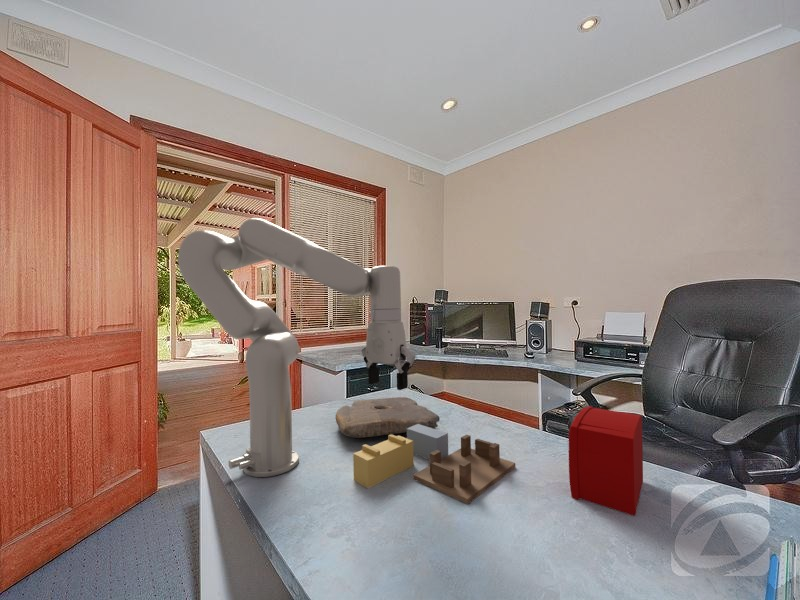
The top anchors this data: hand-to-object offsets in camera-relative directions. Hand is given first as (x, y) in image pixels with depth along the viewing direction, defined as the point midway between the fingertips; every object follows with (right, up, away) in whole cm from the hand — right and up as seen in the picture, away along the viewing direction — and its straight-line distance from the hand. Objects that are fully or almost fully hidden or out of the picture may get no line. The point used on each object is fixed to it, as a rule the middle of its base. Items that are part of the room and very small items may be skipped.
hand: (387, 385), depth 85 cm
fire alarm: (+46, -18, -14) cm, 51 cm away
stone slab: (-3, -19, +25) cm, 31 cm away
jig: (+18, -18, -7) cm, 26 cm away
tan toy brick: (0, -19, -6) cm, 19 cm away
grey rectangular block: (+10, -18, +4) cm, 21 cm away
